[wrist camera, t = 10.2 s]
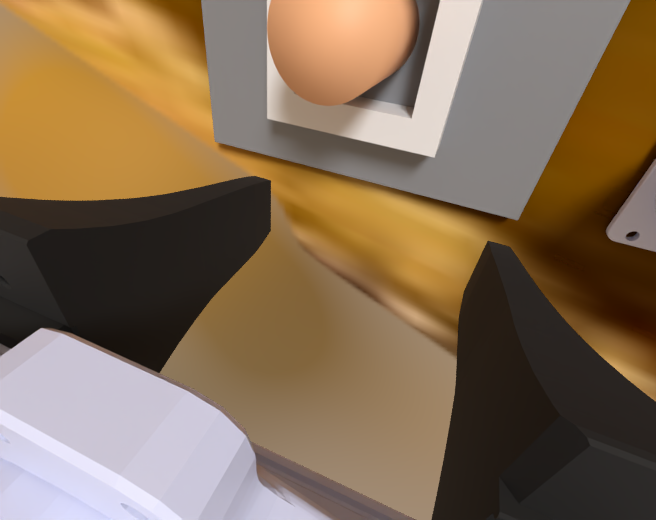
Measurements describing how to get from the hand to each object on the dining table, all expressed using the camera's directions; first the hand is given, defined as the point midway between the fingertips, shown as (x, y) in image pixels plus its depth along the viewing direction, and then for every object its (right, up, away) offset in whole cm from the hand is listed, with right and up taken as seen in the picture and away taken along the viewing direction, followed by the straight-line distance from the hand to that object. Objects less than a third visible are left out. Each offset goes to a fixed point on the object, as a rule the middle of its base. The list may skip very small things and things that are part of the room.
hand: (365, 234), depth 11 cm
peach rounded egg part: (+1, +9, +4) cm, 10 cm away
